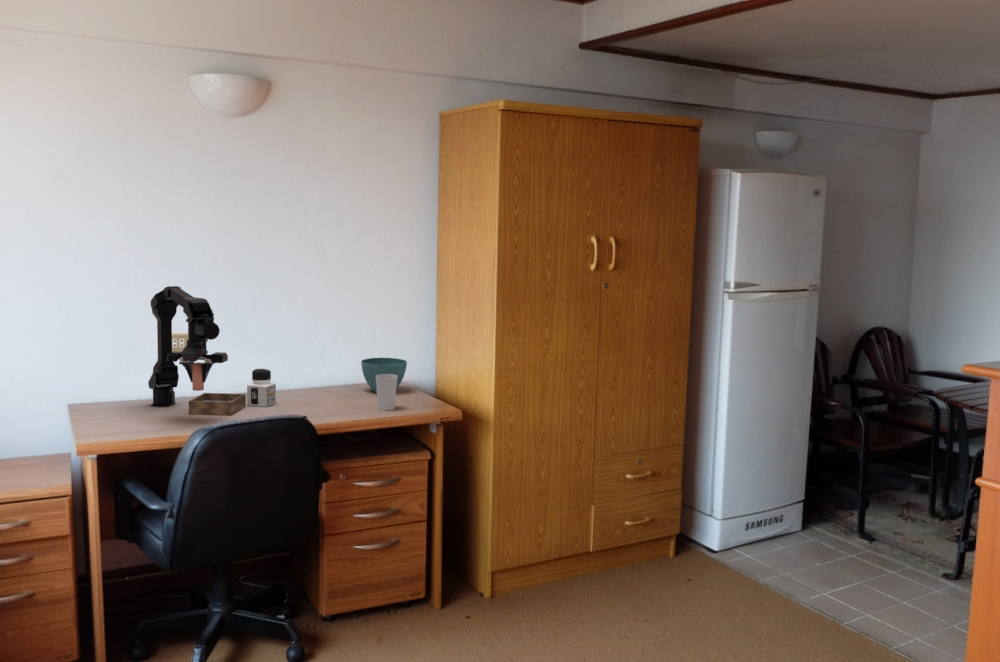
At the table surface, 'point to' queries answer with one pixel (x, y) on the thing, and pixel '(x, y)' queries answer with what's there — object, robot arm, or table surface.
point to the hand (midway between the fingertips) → (198, 382)
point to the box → (217, 404)
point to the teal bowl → (382, 369)
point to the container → (261, 389)
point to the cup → (386, 391)
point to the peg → (197, 377)
